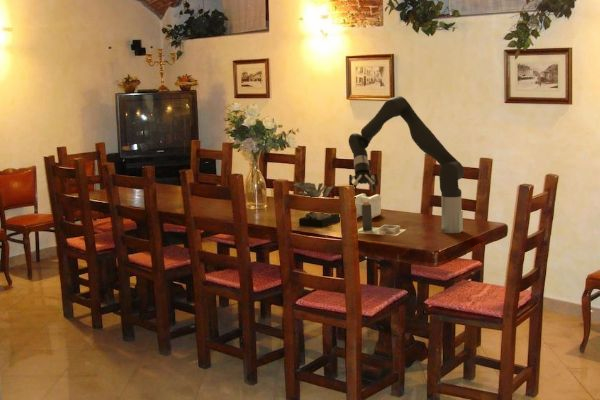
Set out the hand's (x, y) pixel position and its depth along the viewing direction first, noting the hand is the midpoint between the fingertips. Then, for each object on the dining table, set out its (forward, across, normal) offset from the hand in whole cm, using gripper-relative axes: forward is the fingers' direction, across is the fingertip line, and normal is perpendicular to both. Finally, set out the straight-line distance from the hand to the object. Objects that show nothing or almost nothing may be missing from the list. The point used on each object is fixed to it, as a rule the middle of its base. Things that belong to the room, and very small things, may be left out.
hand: (364, 192), depth 365 cm
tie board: (+22, +5, +4) cm, 23 cm away
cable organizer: (-9, +5, +35) cm, 36 cm away
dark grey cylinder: (+19, 0, +5) cm, 19 cm away
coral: (0, -24, +26) cm, 36 cm away
